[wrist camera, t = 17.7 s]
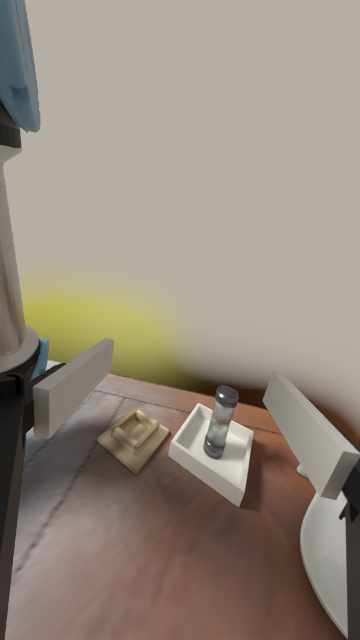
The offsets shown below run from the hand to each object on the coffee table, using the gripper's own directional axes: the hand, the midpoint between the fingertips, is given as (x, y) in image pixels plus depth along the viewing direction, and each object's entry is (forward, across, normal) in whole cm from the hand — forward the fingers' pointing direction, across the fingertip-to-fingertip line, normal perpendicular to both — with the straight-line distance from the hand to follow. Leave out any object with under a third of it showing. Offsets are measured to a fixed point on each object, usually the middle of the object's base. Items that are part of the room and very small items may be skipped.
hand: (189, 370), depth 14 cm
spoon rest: (+10, +30, -32) cm, 46 cm away
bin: (+22, +12, -32) cm, 41 cm away
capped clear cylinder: (+21, +12, -31) cm, 40 cm away
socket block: (+21, -7, -32) cm, 39 cm away
